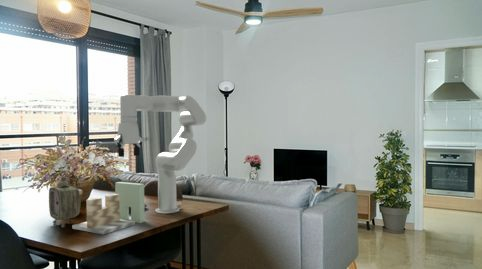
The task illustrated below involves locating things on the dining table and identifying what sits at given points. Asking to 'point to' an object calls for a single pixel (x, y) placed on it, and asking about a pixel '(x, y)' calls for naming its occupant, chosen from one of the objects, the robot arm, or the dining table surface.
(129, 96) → the robot arm
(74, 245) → the dining table surface
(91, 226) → the birch slotted base
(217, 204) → the dining table surface
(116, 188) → the sage slotted plate
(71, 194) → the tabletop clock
